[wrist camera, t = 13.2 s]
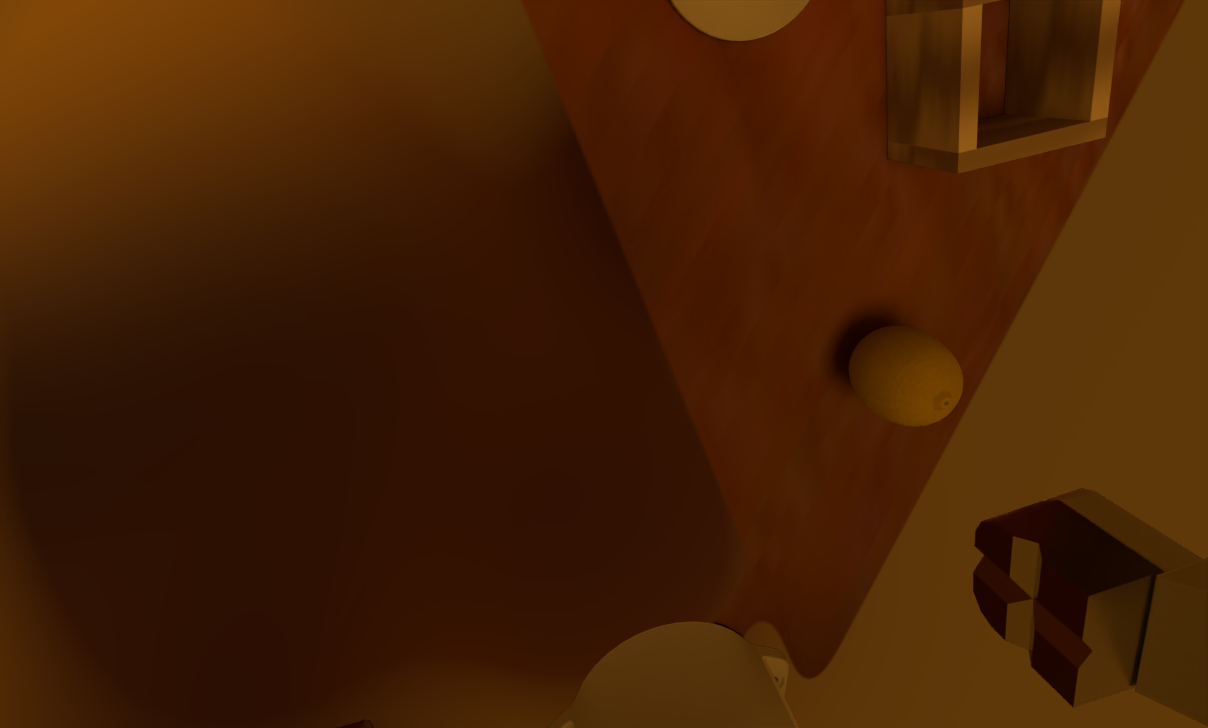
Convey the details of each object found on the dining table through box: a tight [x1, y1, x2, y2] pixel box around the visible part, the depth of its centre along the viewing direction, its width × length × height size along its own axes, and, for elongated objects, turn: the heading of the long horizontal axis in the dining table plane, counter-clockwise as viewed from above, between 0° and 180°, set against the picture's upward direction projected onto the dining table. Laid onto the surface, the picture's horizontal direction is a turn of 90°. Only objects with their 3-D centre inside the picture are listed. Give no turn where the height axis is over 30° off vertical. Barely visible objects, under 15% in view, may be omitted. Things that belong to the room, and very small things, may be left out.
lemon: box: [849, 326, 963, 427], centre depth 42 cm, size 6×6×8 cm
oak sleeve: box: [886, 0, 1121, 173], centre depth 37 cm, size 8×8×6 cm
